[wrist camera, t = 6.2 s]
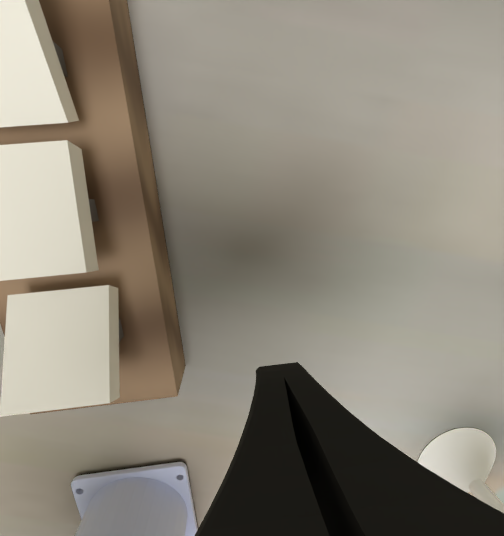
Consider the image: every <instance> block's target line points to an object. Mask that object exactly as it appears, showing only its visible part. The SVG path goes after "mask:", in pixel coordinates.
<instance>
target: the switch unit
mask: <svg viewBox="0 0 504 536" xmlns="http://www.w3.org/2000/svg"><path fill="white" fill-rule="evenodd" d="M39 3H40V5H41V8H42V11H43V14H44V17H45V20H46V23H47V26H48V29H49V32H50V35H51V38H52V41H53V44H54V47H55V50H56V53H57V56H58V59H59V62H60V65H61V68H62V71H63V74H64V77H65V80H66V83H67V86H68V89H69V92H70V95H71V98H72V101H73V104H74V107H75V110H76V113H77V116H78V119H79V121H74V122H69V123H56V124H42V125H28V126H14V127H0V145H8V144H22V143H35V142H49V141H62V140H68V141H69V142H71V143H73V144H74V145H76V146H77V147H79V148H80V149H82V156H83V163H84V170H85V177H86V184H87V191H88V199H89V206H90V213H91V220H92V227H93V234H94V241H95V248H96V255H97V262H98V269H99V270H97V271H92V272H86V273H76V274H66V275H56V276H46V277H35V278H25V279H15V280H5V281H0V324H1V327H2V330H3V333H4V336H5V327H6V311H7V296H8V295H15V294H25V293H34V292H44V291H54V290H64V289H74V288H84V287H94V286H104V285H110V286H113V287H116V288H118V310H119V382H120V398H118V399H116V400H114V401H113V402H111V403H108V404H100V405H91V406H83V407H75V408H67V409H59V410H51V411H42V412H34V413H30V414H37V413H45V412H53V411H61V410H69V409H78V408H86V407H94V406H102V405H110V404H118V403H126V402H135V401H143V400H151V399H159V398H167V397H175V396H178V392H179V389H180V385H181V381H182V377H183V373H184V370H185V366H186V365H185V359H184V353H183V347H182V341H181V334H180V328H179V322H178V316H177V309H176V303H175V297H174V291H173V284H172V278H171V272H170V266H169V260H168V253H167V247H166V241H165V235H164V228H163V222H162V216H161V210H160V203H159V197H158V191H157V185H156V179H155V172H154V166H153V160H152V154H151V147H150V141H149V135H148V129H147V122H146V116H145V110H144V104H143V98H142V91H141V85H140V79H139V73H138V66H137V60H136V54H135V48H134V41H133V35H132V29H131V23H130V17H129V10H128V4H127V0H39Z"/></svg>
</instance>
